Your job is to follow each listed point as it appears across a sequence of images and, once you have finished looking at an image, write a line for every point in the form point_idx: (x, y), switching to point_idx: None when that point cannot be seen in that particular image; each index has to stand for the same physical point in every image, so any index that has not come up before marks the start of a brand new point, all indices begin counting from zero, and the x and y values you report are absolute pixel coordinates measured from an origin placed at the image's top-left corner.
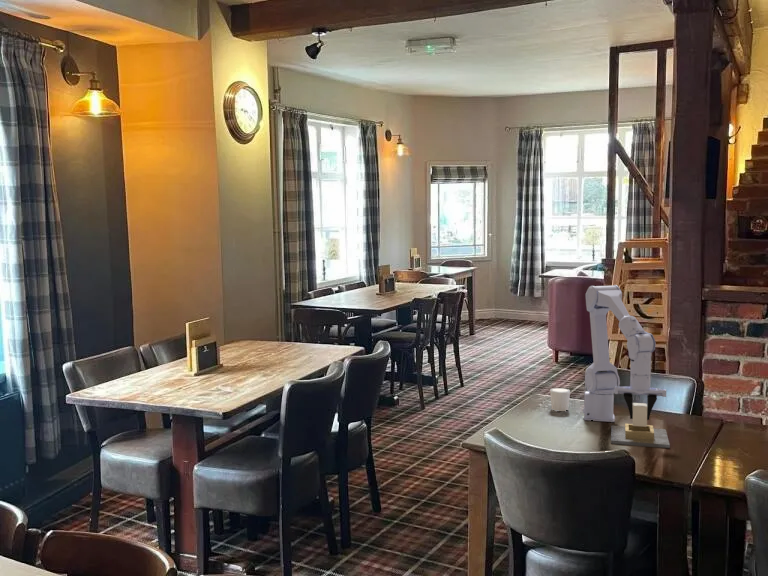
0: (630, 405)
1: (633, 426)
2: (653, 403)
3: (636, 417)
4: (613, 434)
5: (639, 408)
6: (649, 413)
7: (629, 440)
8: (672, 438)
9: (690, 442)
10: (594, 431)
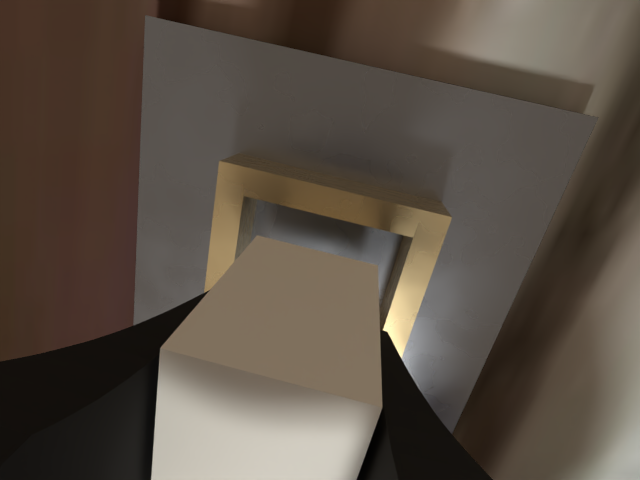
0: (416, 434)
1: None
2: (12, 364)
3: (339, 295)
4: (507, 274)
5: (286, 358)
6: (177, 309)
7: (435, 122)
8: (118, 252)
9: (21, 173)
10: (575, 395)
